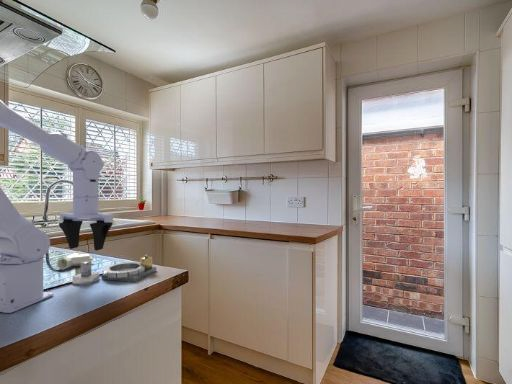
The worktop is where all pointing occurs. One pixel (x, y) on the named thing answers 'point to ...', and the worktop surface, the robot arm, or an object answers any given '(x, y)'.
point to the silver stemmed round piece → (85, 275)
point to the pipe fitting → (73, 260)
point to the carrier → (129, 270)
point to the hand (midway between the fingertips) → (86, 248)
